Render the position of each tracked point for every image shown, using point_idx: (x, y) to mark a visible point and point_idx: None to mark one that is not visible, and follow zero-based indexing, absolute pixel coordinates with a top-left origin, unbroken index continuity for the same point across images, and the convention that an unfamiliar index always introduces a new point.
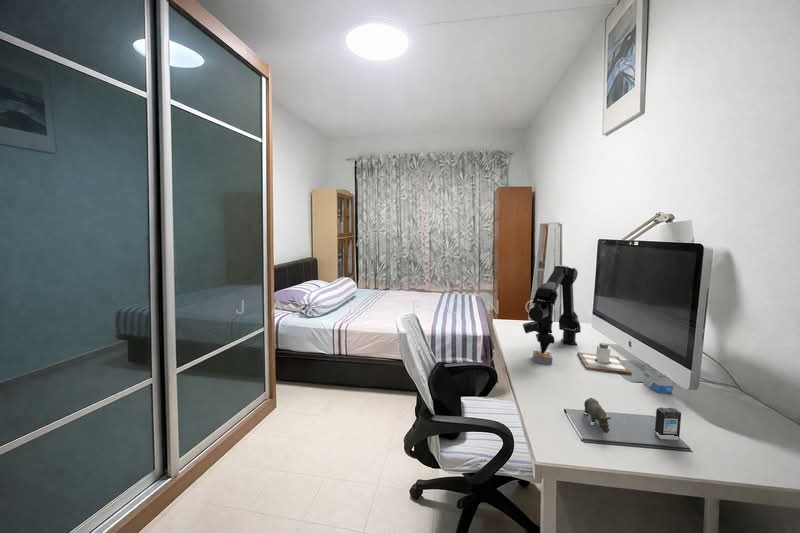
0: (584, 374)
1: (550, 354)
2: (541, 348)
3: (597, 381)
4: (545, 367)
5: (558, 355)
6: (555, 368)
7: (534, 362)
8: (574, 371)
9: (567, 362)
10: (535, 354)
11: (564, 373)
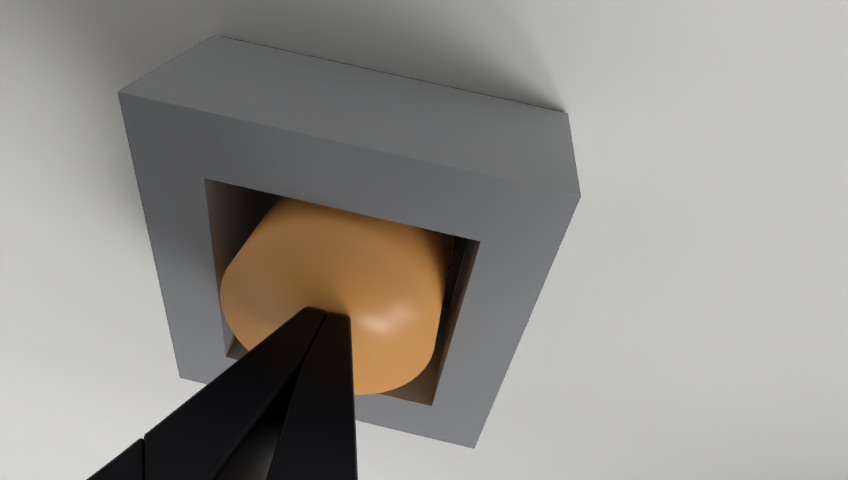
0: (108, 443)
1: None
2: (215, 389)
3: (10, 453)
4: (77, 170)
5: (635, 471)
6: (119, 282)
7: (211, 46)
8: (138, 410)
9: (389, 454)
10: (227, 148)
11: (12, 313)
